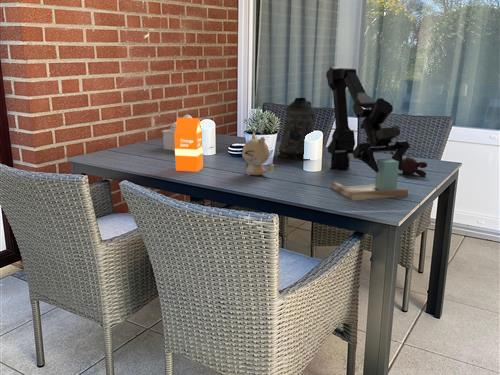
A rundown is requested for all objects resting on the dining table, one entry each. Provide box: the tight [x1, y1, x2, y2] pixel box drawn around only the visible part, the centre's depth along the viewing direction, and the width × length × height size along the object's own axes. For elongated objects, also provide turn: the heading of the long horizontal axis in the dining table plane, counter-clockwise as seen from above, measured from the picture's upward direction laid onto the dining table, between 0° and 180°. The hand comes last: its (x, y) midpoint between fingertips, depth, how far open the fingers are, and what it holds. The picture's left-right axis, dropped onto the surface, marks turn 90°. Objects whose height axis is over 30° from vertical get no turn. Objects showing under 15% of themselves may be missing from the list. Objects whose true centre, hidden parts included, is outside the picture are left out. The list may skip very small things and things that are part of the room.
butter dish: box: [161, 114, 202, 152], centre depth 233 cm, size 18×18×16 cm
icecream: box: [401, 156, 428, 177], centre depth 188 cm, size 7×7×15 cm
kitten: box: [241, 132, 275, 177], centre depth 186 cm, size 15×10×15 cm
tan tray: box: [331, 181, 409, 201], centre depth 164 cm, size 15×20×2 cm
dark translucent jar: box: [278, 97, 316, 161], centre depth 217 cm, size 16×19×25 cm
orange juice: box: [174, 117, 204, 173], centre depth 193 cm, size 8×9×20 cm
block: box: [374, 157, 399, 190], centre depth 165 cm, size 5×5×10 cm
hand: (389, 171), depth 163 cm, fingers open, 8 cm apart
